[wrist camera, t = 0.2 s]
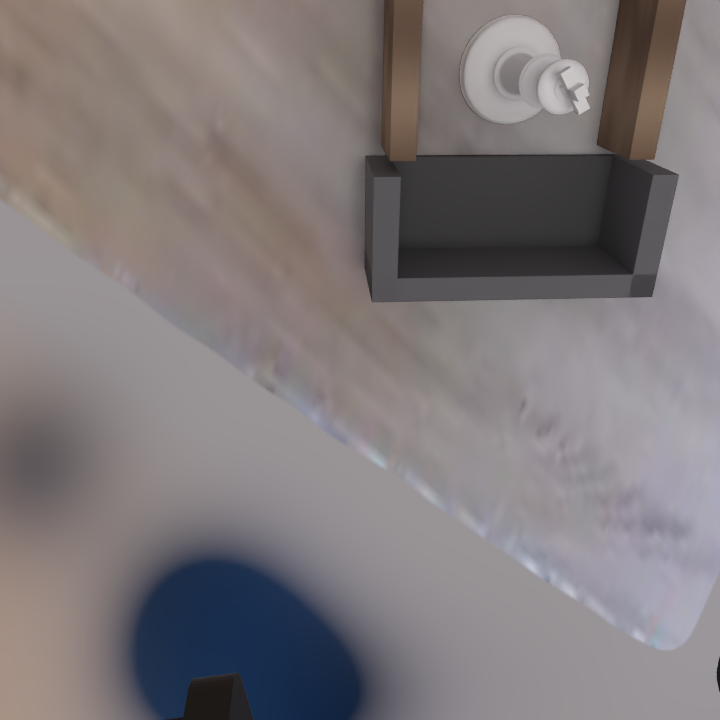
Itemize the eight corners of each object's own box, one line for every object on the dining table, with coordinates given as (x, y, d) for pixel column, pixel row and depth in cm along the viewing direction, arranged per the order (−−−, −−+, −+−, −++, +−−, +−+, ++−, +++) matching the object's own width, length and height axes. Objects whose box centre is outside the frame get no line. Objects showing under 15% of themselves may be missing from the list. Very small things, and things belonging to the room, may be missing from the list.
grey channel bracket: (365, 155, 35) (373, 177, 30) (632, 154, 35) (678, 174, 31) (364, 267, 37) (371, 302, 33) (612, 263, 38) (652, 297, 34)
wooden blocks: (387, -118, 29) (397, -135, 26) (664, -112, 30) (712, -129, 26) (381, 145, 34) (389, 161, 31) (619, 144, 35) (654, 159, 32)
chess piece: (531, -9, 32) (618, -16, 23) (574, 86, 34) (669, 113, 25) (440, 55, 33) (489, 71, 24) (488, 143, 35) (549, 188, 26)
